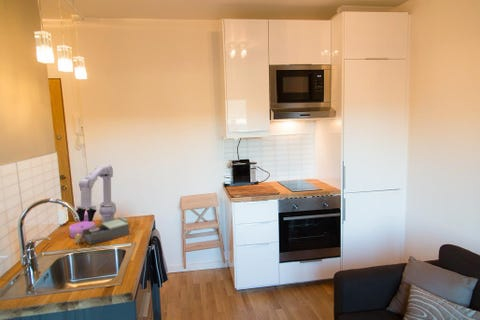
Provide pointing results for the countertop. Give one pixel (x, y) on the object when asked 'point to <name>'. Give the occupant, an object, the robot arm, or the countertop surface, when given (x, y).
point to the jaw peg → (78, 238)
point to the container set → (80, 226)
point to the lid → (116, 223)
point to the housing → (103, 234)
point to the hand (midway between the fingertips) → (86, 221)
